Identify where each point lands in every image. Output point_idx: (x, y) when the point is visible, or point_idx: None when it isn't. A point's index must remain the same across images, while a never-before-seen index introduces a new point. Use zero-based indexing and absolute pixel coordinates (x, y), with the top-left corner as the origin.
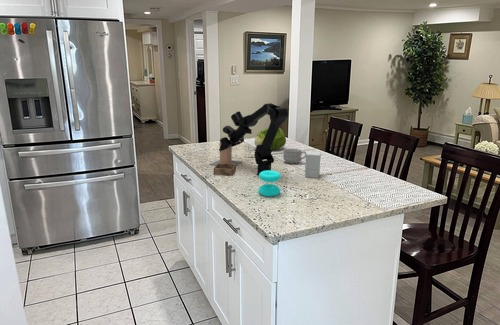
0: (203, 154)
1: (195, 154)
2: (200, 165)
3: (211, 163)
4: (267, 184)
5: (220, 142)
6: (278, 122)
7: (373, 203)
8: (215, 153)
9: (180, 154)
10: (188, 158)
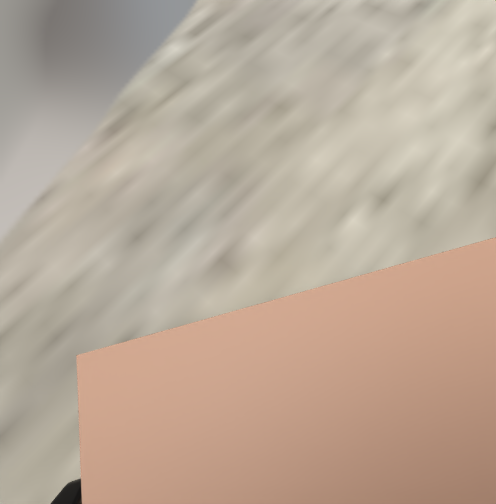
0: (324, 74)
1: (273, 49)
2: (31, 308)
3: None
4: None
5: (98, 419)
6: None
7: None
8: (432, 98)
9: (194, 11)
10: (154, 92)
